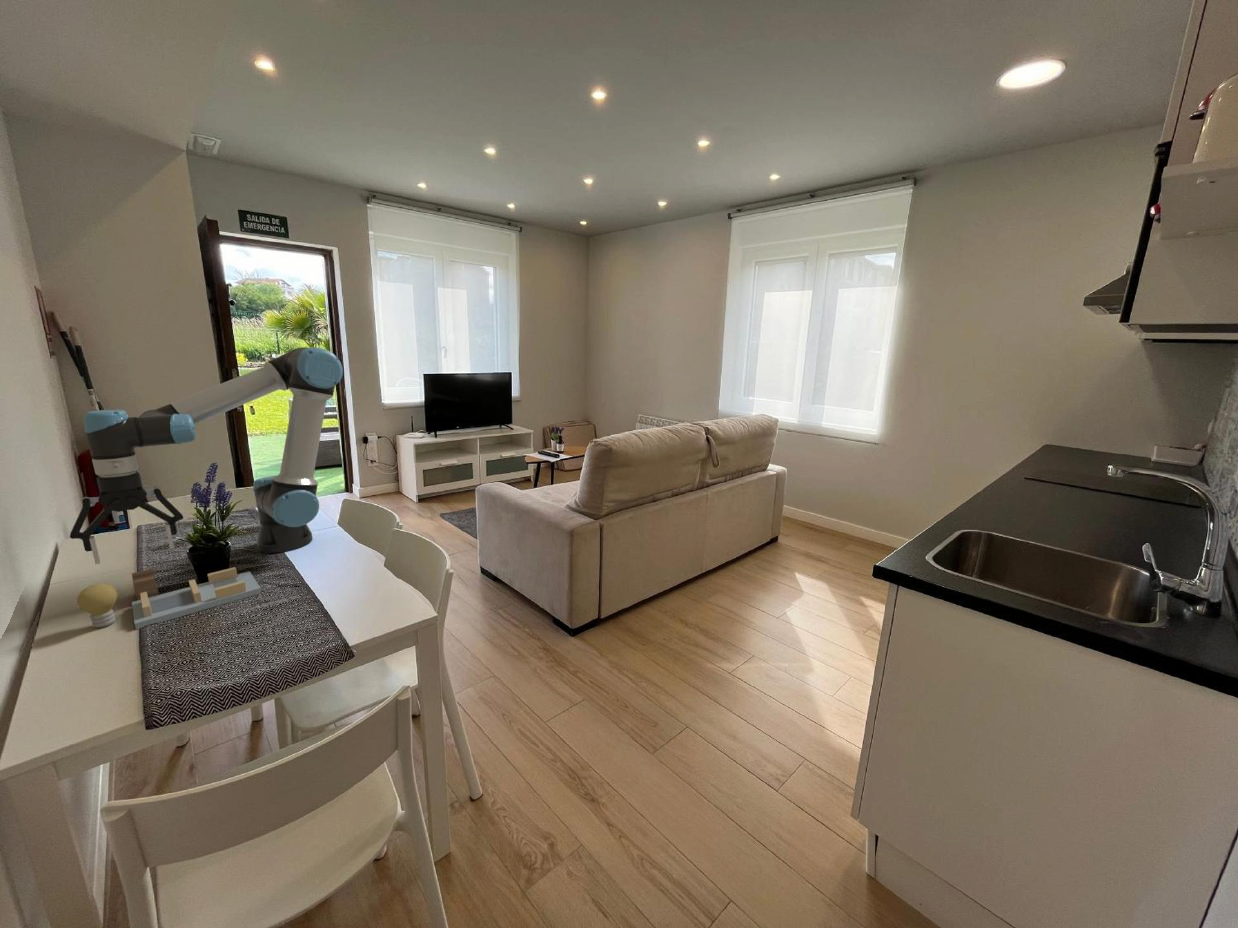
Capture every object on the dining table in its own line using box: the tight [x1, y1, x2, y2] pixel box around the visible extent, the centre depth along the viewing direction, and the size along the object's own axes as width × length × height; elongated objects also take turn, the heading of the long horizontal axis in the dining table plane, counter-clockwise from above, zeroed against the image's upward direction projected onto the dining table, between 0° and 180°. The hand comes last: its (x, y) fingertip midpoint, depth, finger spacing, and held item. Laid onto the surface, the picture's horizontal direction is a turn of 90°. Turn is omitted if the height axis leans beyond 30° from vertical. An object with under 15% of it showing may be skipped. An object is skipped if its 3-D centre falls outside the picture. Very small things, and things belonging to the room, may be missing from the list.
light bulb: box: [76, 583, 118, 629], centre depth 114 cm, size 6×6×10 cm
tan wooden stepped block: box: [131, 568, 160, 601], centre depth 127 cm, size 8×4×6 cm, turn 46°
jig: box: [131, 566, 262, 630], centre depth 126 cm, size 14×24×4 cm, turn 136°
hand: (136, 554), depth 125 cm, fingers open, 13 cm apart
